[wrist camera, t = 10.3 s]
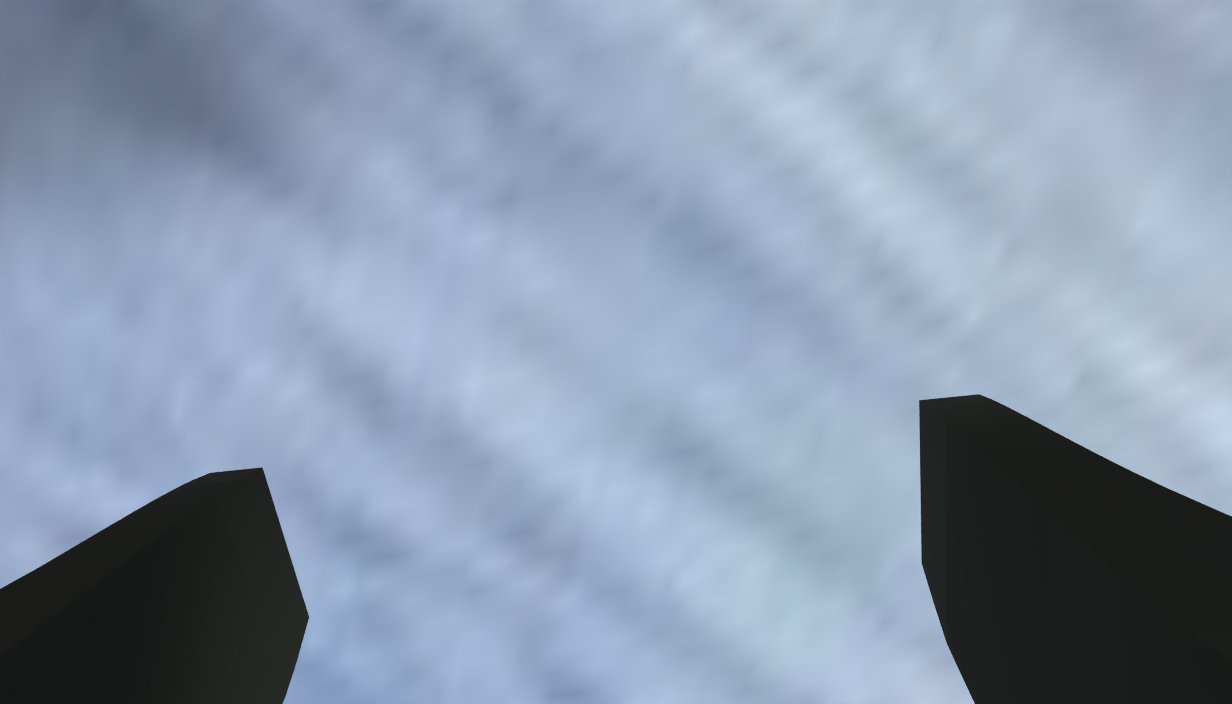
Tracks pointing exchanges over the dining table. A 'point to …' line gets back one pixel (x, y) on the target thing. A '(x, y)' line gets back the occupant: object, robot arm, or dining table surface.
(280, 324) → the dining table surface
